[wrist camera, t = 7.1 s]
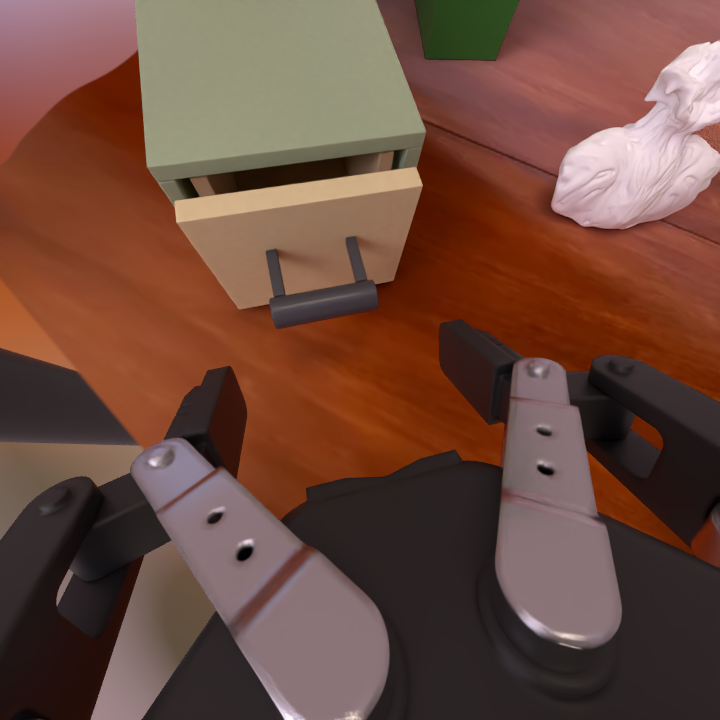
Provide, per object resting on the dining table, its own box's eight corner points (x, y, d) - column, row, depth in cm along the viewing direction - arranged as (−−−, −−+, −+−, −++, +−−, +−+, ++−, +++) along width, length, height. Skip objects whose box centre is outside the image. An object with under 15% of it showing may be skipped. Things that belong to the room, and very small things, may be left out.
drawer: (409, 334, 22) (451, 264, 14) (247, 368, 21) (184, 313, 12) (352, 144, 27) (358, 4, 18) (216, 161, 26) (155, 19, 17)
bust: (638, 223, 30) (726, 65, 24) (710, 246, 24) (855, 41, 18) (517, 213, 30) (573, 49, 23) (559, 234, 24) (651, 18, 17)
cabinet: (391, 261, 25) (427, 131, 15) (230, 290, 23) (146, 167, 13) (350, 125, 29) (355, -53, 19) (209, 142, 27) (131, -42, 17)
